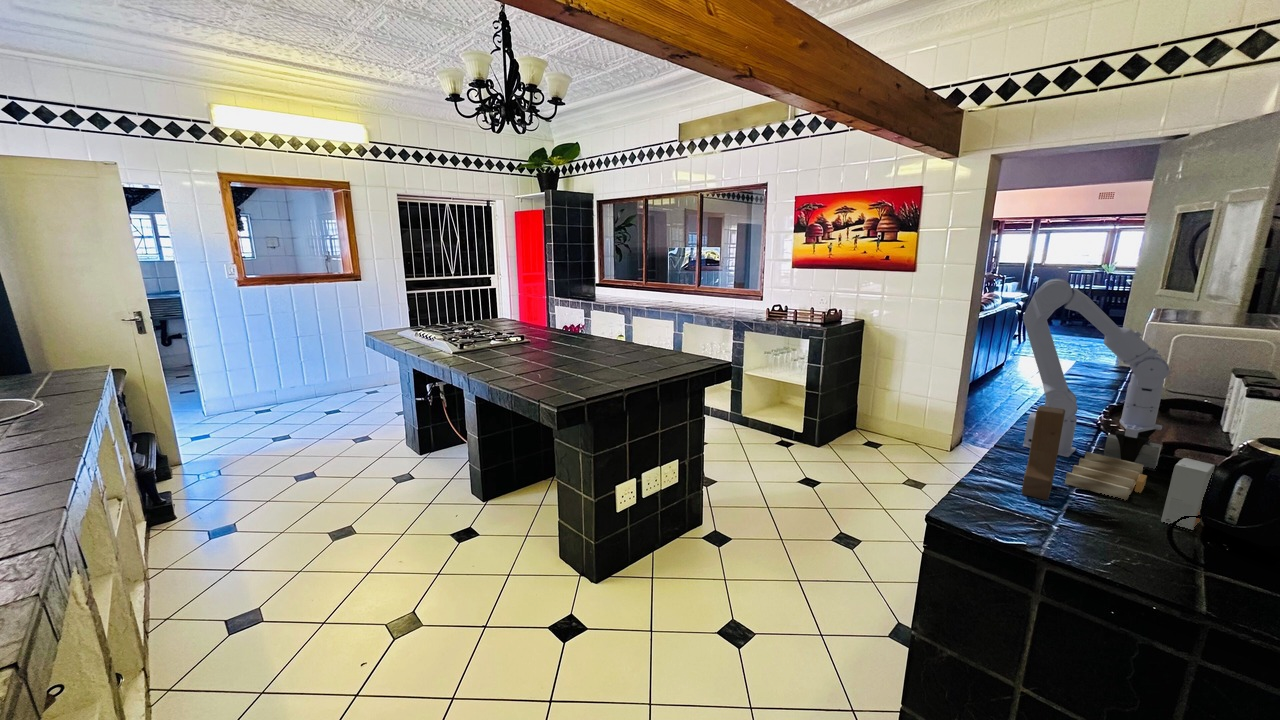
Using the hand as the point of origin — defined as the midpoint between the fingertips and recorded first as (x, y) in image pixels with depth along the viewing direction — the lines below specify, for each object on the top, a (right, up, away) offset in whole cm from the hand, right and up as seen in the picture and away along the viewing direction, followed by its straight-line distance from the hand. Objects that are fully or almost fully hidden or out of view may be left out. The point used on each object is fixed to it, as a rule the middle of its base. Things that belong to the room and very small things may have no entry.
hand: (1130, 458), depth 119 cm
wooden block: (-32, -5, -12) cm, 35 cm away
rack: (-13, -3, -7) cm, 16 cm away
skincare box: (-15, -8, -25) cm, 30 cm away
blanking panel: (0, -2, 0) cm, 2 cm away
